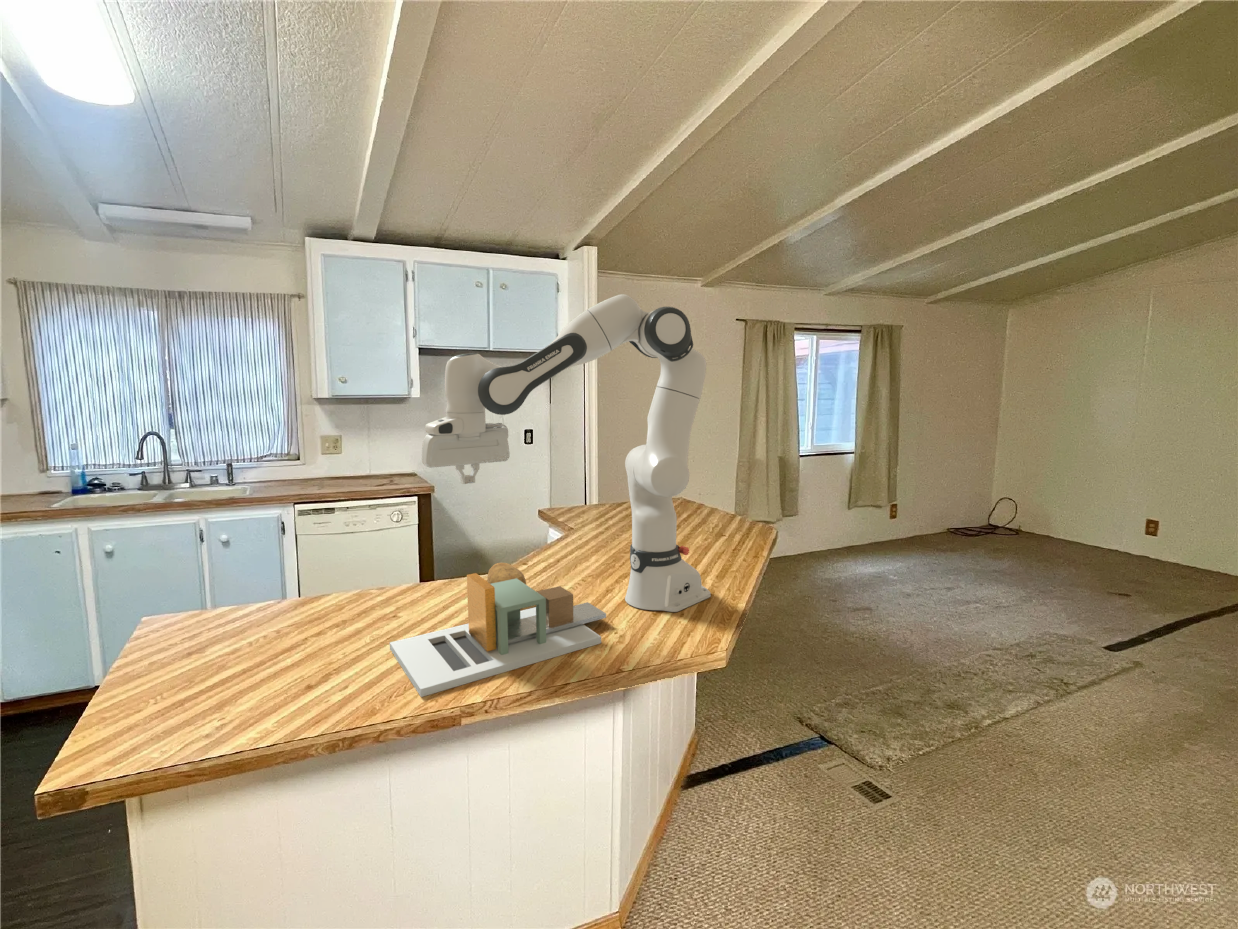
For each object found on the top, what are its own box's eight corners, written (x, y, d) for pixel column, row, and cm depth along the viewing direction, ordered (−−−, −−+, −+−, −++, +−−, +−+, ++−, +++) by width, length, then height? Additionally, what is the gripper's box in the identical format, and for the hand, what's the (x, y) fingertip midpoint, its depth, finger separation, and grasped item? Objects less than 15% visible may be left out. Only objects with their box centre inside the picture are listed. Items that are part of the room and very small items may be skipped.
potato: (497, 610, 143) (496, 579, 142) (480, 591, 155) (480, 562, 154) (535, 603, 148) (534, 572, 147) (516, 585, 160) (516, 557, 159)
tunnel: (517, 619, 135) (516, 578, 133) (546, 642, 123) (545, 598, 122) (475, 629, 129) (473, 587, 128) (501, 655, 118) (500, 608, 116)
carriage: (585, 604, 142) (585, 551, 140) (608, 619, 134) (608, 563, 132) (468, 634, 126) (466, 574, 124) (486, 652, 118) (484, 589, 116)
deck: (552, 609, 144) (552, 603, 144) (601, 643, 126) (601, 636, 126) (389, 649, 123) (389, 642, 123) (420, 697, 105) (420, 689, 105)
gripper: (502, 421, 146) (503, 476, 148) (418, 425, 134) (420, 485, 136) (513, 423, 140) (514, 480, 143) (426, 427, 129) (429, 490, 131)
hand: (468, 483), depth 139 cm, fingers closed
